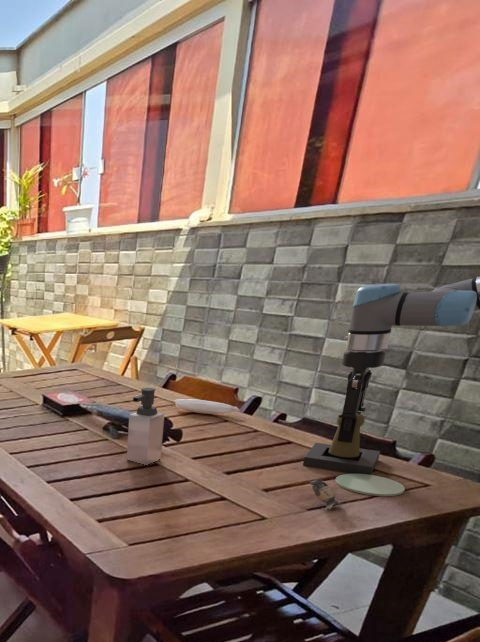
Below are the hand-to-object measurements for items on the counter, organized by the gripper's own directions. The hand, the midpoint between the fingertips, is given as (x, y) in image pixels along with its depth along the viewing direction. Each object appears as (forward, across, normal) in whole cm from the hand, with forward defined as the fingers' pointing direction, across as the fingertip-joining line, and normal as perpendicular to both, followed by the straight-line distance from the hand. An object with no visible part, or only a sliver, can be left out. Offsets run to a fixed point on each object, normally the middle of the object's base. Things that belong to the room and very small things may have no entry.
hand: (346, 438), depth 129 cm
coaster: (+7, +13, +7) cm, 16 cm away
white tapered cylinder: (+4, -75, -61) cm, 97 cm away
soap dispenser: (+7, +25, -41) cm, 49 cm away
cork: (+4, 0, 0) cm, 4 cm away
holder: (+7, 0, 0) cm, 7 cm away
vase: (+7, +30, +1) cm, 31 cm away
